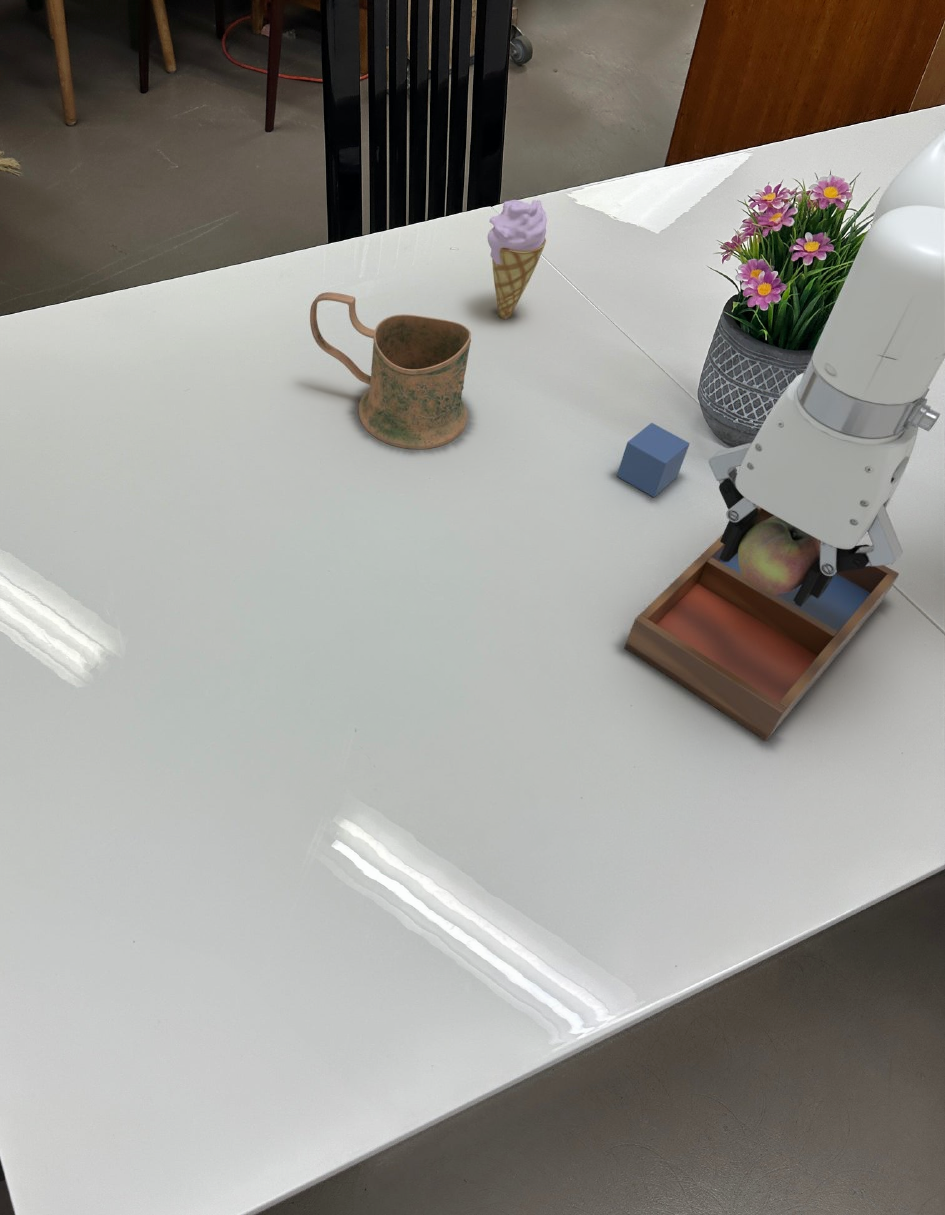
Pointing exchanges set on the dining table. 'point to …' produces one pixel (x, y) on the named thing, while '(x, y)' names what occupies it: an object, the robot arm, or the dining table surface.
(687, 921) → the dining table surface
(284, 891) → the dining table surface
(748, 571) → the apple
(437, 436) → the mug
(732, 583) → the sorting tray
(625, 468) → the blue block
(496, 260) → the ice cream cone
